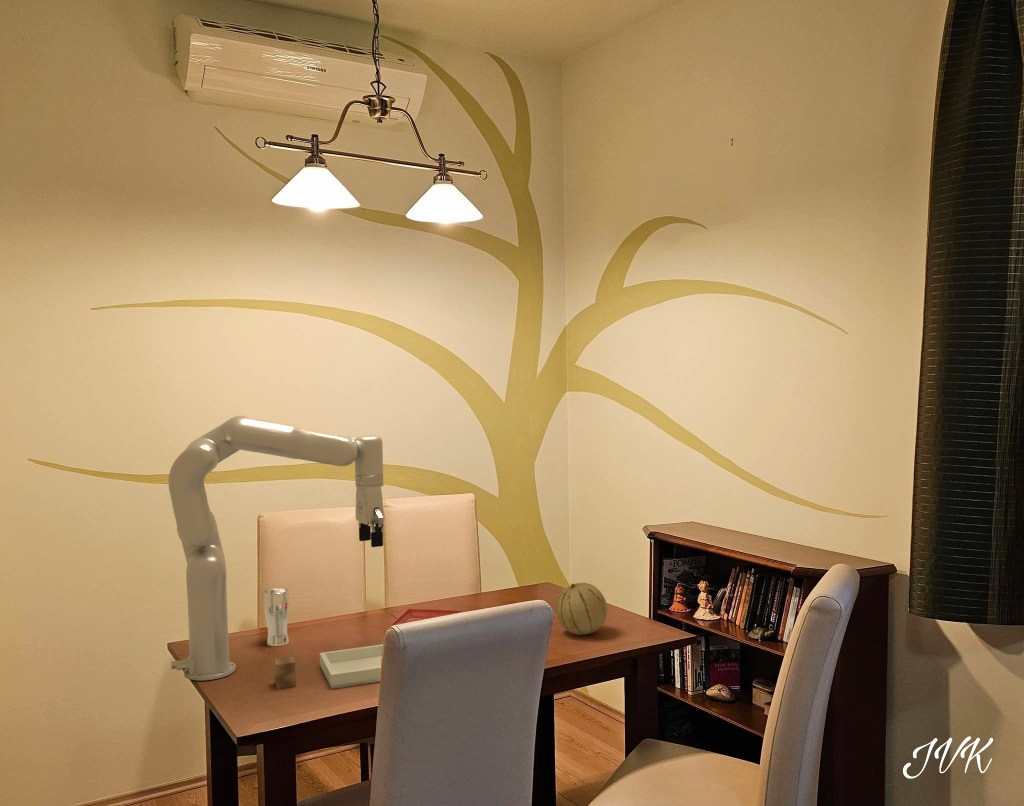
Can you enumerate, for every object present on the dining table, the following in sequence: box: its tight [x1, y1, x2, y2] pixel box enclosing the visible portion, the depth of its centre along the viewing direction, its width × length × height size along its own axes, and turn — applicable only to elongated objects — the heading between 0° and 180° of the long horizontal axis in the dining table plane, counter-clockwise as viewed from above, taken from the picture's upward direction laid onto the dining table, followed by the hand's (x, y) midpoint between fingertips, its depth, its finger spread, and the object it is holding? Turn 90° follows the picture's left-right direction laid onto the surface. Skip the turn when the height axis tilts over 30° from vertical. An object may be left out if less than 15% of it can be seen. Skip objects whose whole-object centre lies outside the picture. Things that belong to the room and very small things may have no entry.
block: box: [273, 656, 297, 690], centre depth 218 cm, size 4×4×6 cm
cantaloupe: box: [555, 582, 608, 636], centre depth 253 cm, size 15×15×15 cm
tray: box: [319, 643, 384, 690], centre depth 225 cm, size 18×18×4 cm
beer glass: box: [263, 587, 290, 647], centre depth 251 cm, size 7×7×15 cm
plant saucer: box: [388, 608, 464, 628], centre depth 263 cm, size 18×18×3 cm
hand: (371, 543), depth 240 cm, fingers open, 9 cm apart
